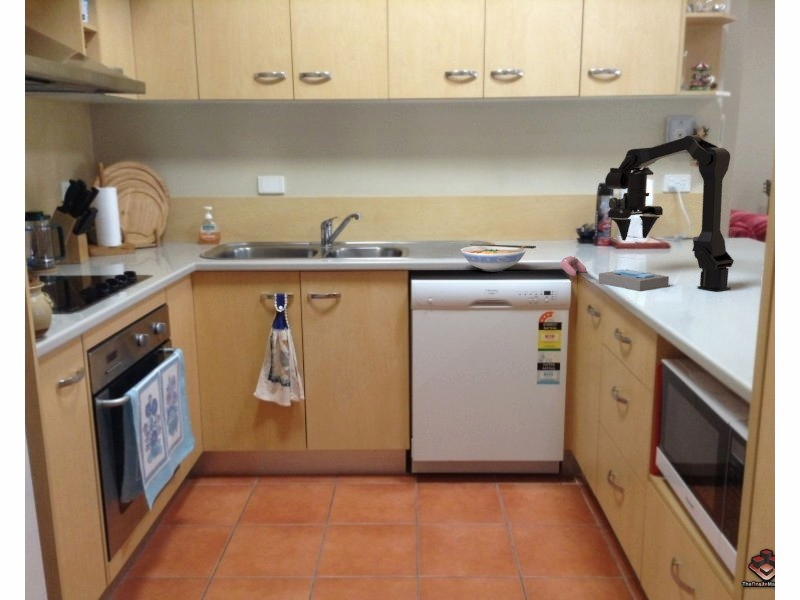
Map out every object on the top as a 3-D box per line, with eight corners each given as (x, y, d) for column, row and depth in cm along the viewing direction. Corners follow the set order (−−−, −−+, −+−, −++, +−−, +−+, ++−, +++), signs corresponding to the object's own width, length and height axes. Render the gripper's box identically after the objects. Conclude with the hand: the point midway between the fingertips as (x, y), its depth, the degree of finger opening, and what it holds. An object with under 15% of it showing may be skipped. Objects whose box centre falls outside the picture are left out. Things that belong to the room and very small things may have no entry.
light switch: (668, 286, 196) (668, 276, 196) (639, 291, 191) (640, 280, 190) (626, 278, 210) (626, 269, 210) (598, 282, 205) (598, 273, 204)
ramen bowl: (446, 272, 230) (445, 249, 229) (476, 263, 249) (476, 241, 247) (512, 278, 217) (512, 253, 215) (539, 267, 235) (539, 244, 234)
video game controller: (576, 276, 226) (568, 257, 227) (588, 271, 223) (580, 252, 224) (564, 280, 218) (555, 261, 219) (576, 275, 216) (567, 255, 216)
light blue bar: (622, 281, 207) (622, 268, 206) (653, 287, 196) (654, 274, 195) (612, 282, 205) (613, 270, 204) (644, 288, 194) (644, 275, 194)
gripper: (637, 187, 220) (635, 234, 223) (595, 190, 211) (594, 239, 214) (665, 188, 210) (662, 237, 213) (623, 191, 201) (620, 242, 205)
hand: (634, 239), depth 212 cm, fingers open, 9 cm apart
